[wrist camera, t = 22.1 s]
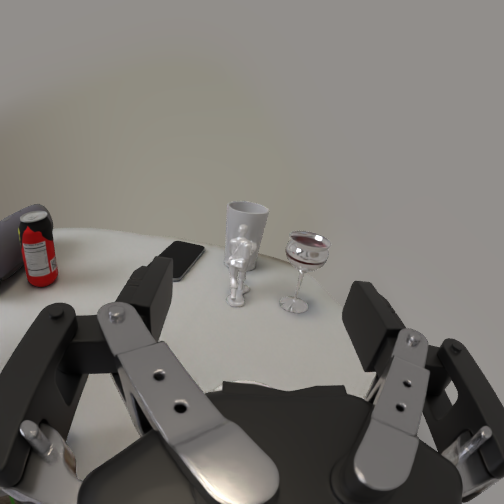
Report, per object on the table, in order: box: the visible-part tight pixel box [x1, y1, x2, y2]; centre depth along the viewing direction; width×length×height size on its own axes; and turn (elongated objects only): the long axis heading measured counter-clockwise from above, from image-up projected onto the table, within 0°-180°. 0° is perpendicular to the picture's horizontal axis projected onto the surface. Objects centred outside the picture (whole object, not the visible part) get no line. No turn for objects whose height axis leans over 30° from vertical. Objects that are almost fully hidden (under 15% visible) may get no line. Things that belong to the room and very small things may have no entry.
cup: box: [224, 201, 269, 271], centre depth 57 cm, size 8×8×12 cm
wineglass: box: [279, 231, 331, 313], centre depth 47 cm, size 7×7×12 cm
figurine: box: [226, 224, 257, 307], centre depth 48 cm, size 5×9×12 cm, turn 1°
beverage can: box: [18, 211, 58, 287], centre depth 39 cm, size 6×6×12 cm
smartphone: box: [147, 241, 205, 281], centre depth 57 cm, size 7×1×15 cm
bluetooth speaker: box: [0, 204, 53, 280], centre depth 41 cm, size 23×9×10 cm, turn 2°
